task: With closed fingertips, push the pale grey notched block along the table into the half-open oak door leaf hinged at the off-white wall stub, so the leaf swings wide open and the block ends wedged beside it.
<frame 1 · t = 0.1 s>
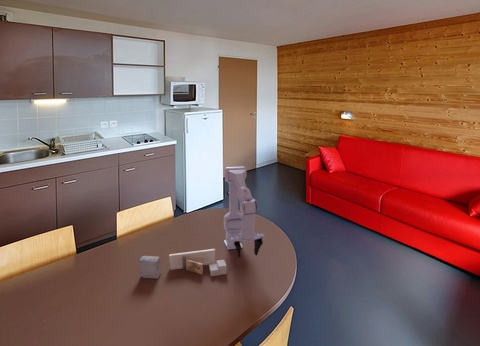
hand: (247, 255, 134), 10 cm above the table, fingers open, 7 cm apart
wall frame: (192, 265, 144), on the table
medicine box: (150, 276, 136), on the table
door: (193, 267, 138), point 2 cm above the table, hinge at 40.0°
pale grey notched block: (217, 272, 139), on the table
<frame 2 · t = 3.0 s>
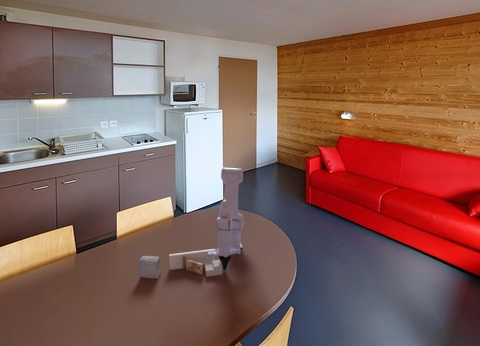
hand: (224, 269, 140), 1 cm above the table, fingers closed
pale grey notched block: (213, 272, 139), on the table, touching gripper
everything else where it was.
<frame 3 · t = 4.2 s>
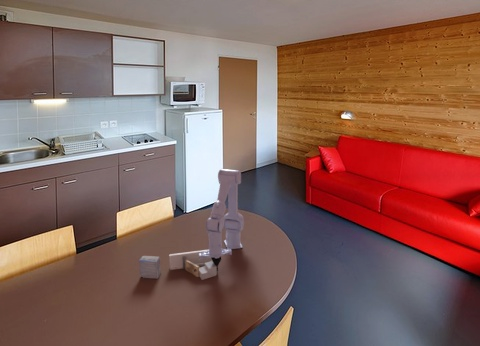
hand: (215, 270, 139), 1 cm above the table, fingers closed, pressing on pale grey notched block
door: (191, 268, 137), point 2 cm above the table, hinge at 55.6°, touching pale grey notched block
pale grey notched block: (207, 274, 137), on the table, touching door, gripper
everything else where it was.
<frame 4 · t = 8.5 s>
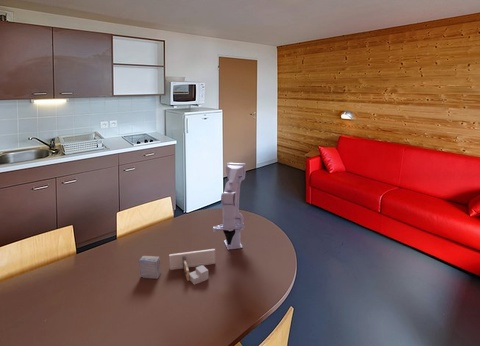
hand: (228, 243, 144), 10 cm above the table, fingers closed
door: (185, 270, 136), point 3 cm above the table, hinge at 85.7°, touching pale grey notched block
pale grey notched block: (198, 279, 134), on the table, touching door
everything else where it was.
at the end: door at +86° (first picture: +40°); pale grey notched block inside the target area (2.5 cm from its centre), on the table; pale grey notched block moved 9.8 cm from its start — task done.
